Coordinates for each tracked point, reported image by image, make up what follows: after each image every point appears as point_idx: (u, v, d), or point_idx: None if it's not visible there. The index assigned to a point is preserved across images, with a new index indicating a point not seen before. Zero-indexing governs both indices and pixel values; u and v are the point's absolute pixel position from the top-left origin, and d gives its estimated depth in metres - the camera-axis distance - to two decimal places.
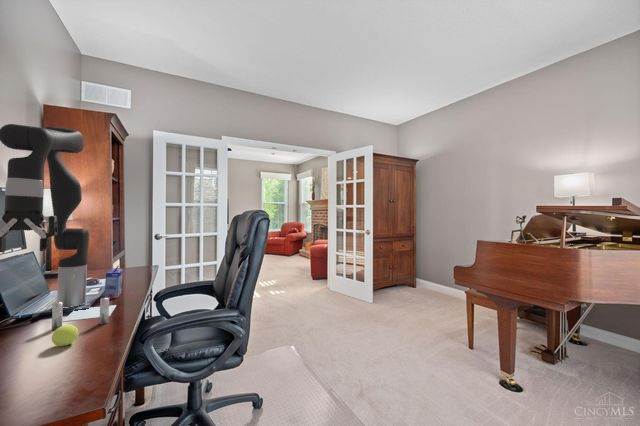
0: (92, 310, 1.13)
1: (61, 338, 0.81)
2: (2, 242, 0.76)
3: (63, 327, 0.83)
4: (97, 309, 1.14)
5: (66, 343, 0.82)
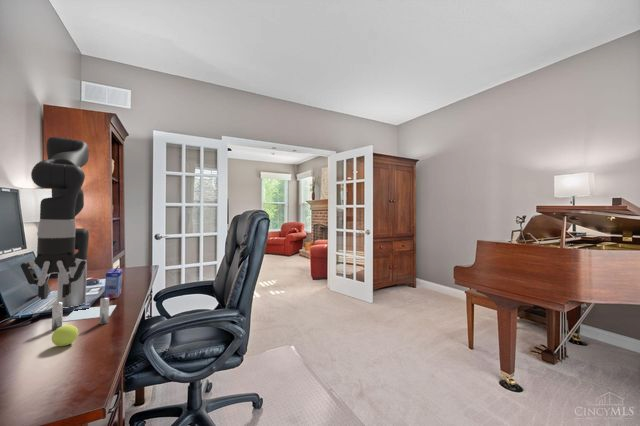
0: (92, 310, 1.13)
1: (61, 338, 0.81)
2: (45, 289, 0.74)
3: (63, 327, 0.83)
4: (97, 309, 1.14)
5: (66, 343, 0.82)
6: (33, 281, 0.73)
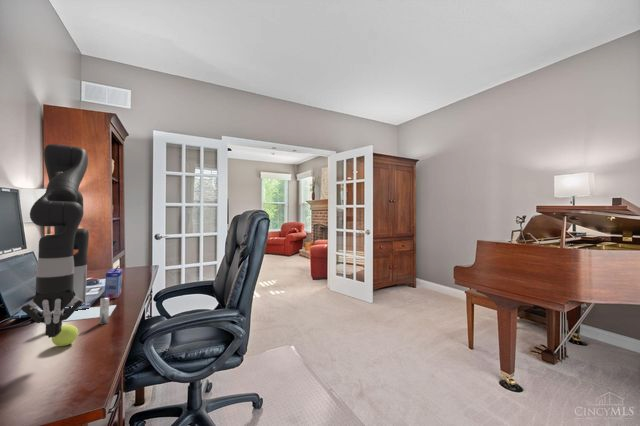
0: (92, 310, 1.13)
1: (61, 338, 0.81)
2: None
3: (63, 327, 0.83)
4: (97, 309, 1.14)
5: (66, 343, 0.82)
6: (41, 320, 0.73)
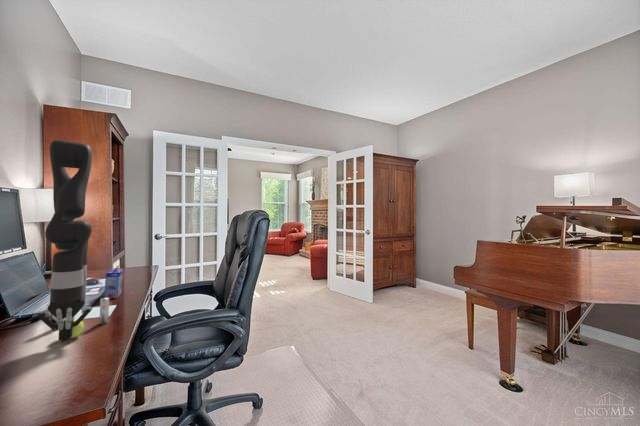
0: (92, 310, 1.13)
1: None
2: None
3: None
4: (97, 309, 1.14)
5: None
6: (54, 326, 0.83)
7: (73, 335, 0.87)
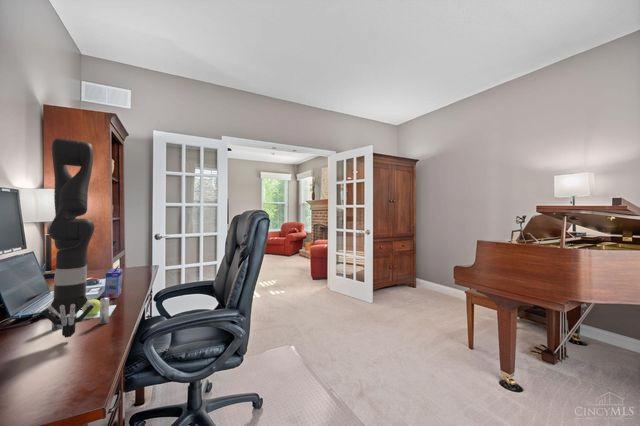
0: None
1: None
2: None
3: None
4: None
5: None
6: (58, 322, 0.85)
7: None
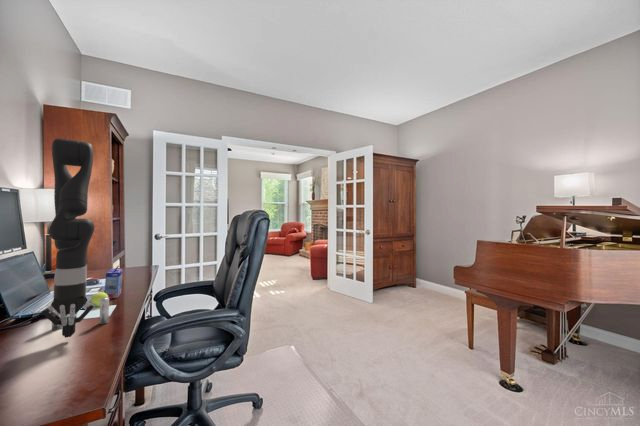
0: (92, 310, 1.13)
1: (97, 301, 1.16)
2: None
3: (98, 293, 1.17)
4: (97, 309, 1.14)
5: None
6: (58, 322, 0.85)
7: None
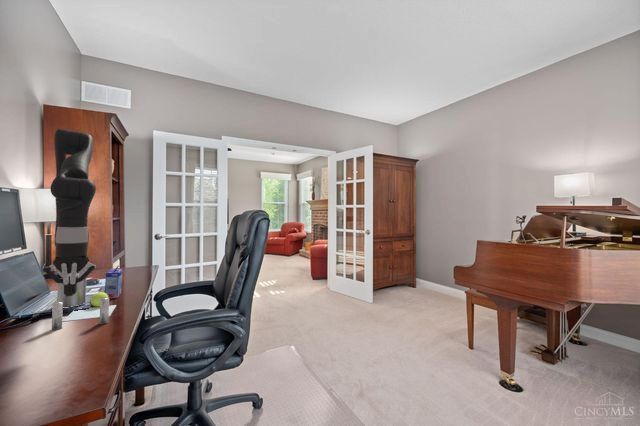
0: (92, 310, 1.13)
1: (97, 301, 1.16)
2: None
3: (98, 293, 1.17)
4: (97, 309, 1.14)
5: None
6: (60, 280, 0.85)
7: None
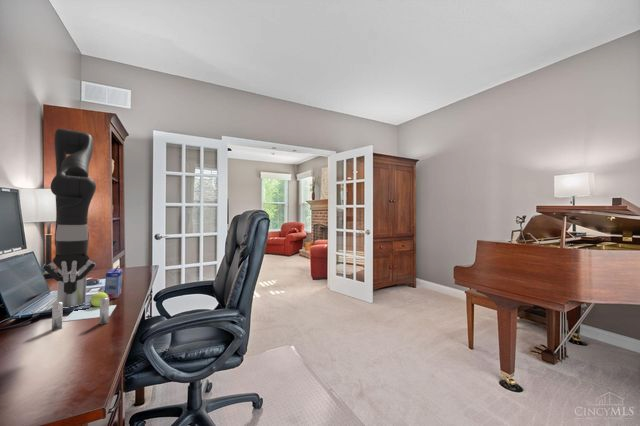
0: (92, 310, 1.13)
1: (97, 301, 1.16)
2: None
3: (98, 293, 1.17)
4: (97, 309, 1.14)
5: None
6: (60, 278, 0.85)
7: None
